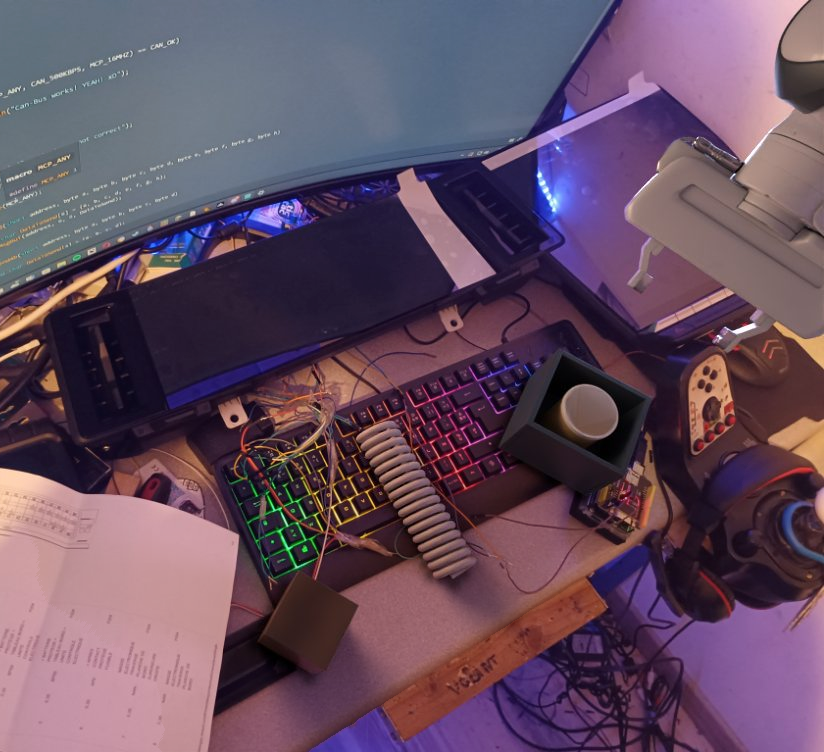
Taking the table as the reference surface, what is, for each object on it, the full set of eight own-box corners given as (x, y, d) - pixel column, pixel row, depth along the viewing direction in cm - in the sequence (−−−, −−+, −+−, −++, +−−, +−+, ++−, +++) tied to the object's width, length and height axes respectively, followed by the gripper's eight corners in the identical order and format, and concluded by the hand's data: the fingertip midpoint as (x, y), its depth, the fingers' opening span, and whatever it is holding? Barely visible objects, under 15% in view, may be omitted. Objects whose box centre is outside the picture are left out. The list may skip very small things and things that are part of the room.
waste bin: (612, 424, 85) (652, 397, 77) (585, 497, 81) (624, 477, 73) (527, 379, 86) (559, 347, 78) (496, 449, 82) (526, 423, 74)
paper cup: (590, 426, 84) (625, 401, 77) (573, 470, 81) (608, 448, 74) (543, 401, 84) (574, 374, 77) (524, 444, 82) (555, 420, 74)
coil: (486, 560, 72) (396, 409, 77) (450, 582, 70) (360, 425, 75) (467, 570, 76) (383, 425, 81) (432, 590, 74) (348, 441, 79)
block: (339, 617, 72) (359, 605, 62) (310, 673, 69) (326, 671, 59) (287, 586, 72) (298, 570, 62) (257, 642, 70) (264, 634, 60)
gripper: (690, 121, 61) (584, 256, 66) (906, 259, 58) (778, 389, 63) (680, 129, 67) (583, 252, 72) (876, 255, 64) (761, 374, 69)
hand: (676, 318), depth 68 cm, fingers open, 8 cm apart
